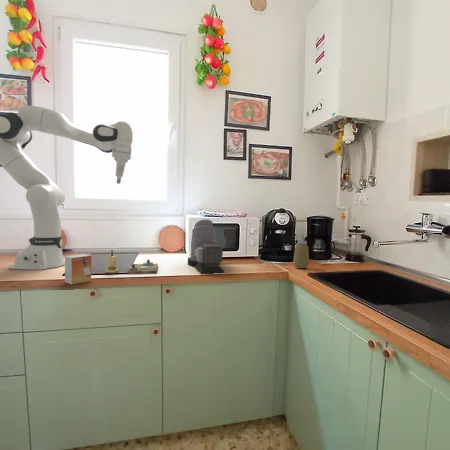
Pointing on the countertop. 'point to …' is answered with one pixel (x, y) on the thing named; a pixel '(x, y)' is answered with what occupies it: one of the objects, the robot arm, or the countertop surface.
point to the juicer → (205, 249)
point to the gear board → (143, 268)
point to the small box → (77, 268)
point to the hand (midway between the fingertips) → (118, 181)
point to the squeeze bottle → (301, 254)
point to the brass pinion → (112, 264)
